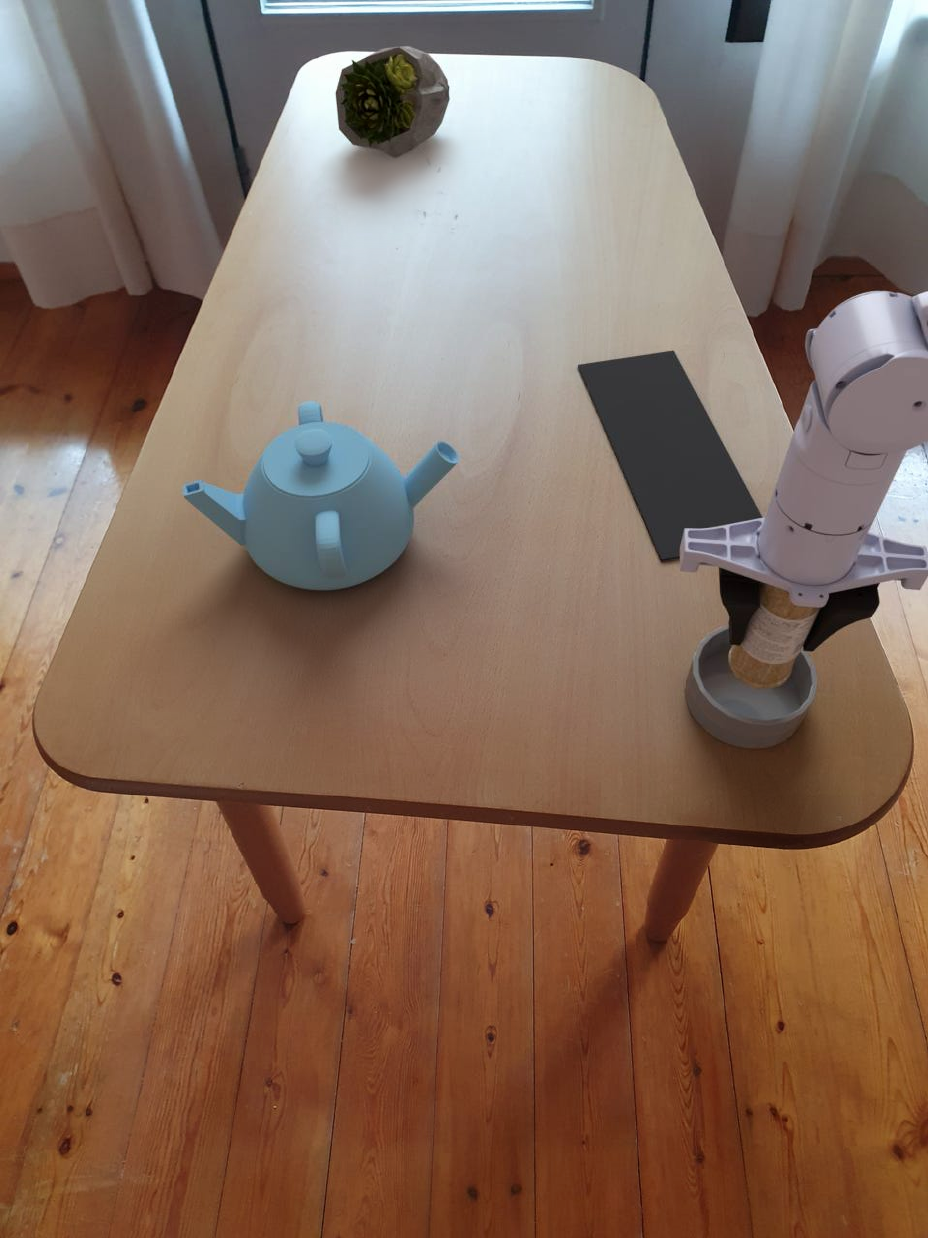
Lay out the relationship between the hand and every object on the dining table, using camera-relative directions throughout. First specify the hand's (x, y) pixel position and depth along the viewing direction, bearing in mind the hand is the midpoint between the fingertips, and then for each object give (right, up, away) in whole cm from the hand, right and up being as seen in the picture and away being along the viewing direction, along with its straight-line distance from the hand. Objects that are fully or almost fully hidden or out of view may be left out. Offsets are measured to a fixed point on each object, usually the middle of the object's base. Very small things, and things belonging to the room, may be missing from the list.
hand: (769, 636), depth 65 cm
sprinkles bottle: (0, -2, +3) cm, 4 cm away
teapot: (-32, +8, +17) cm, 37 cm away
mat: (-2, +17, +23) cm, 28 cm away
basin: (0, -5, +6) cm, 8 cm away
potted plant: (-30, +61, +56) cm, 89 cm away
